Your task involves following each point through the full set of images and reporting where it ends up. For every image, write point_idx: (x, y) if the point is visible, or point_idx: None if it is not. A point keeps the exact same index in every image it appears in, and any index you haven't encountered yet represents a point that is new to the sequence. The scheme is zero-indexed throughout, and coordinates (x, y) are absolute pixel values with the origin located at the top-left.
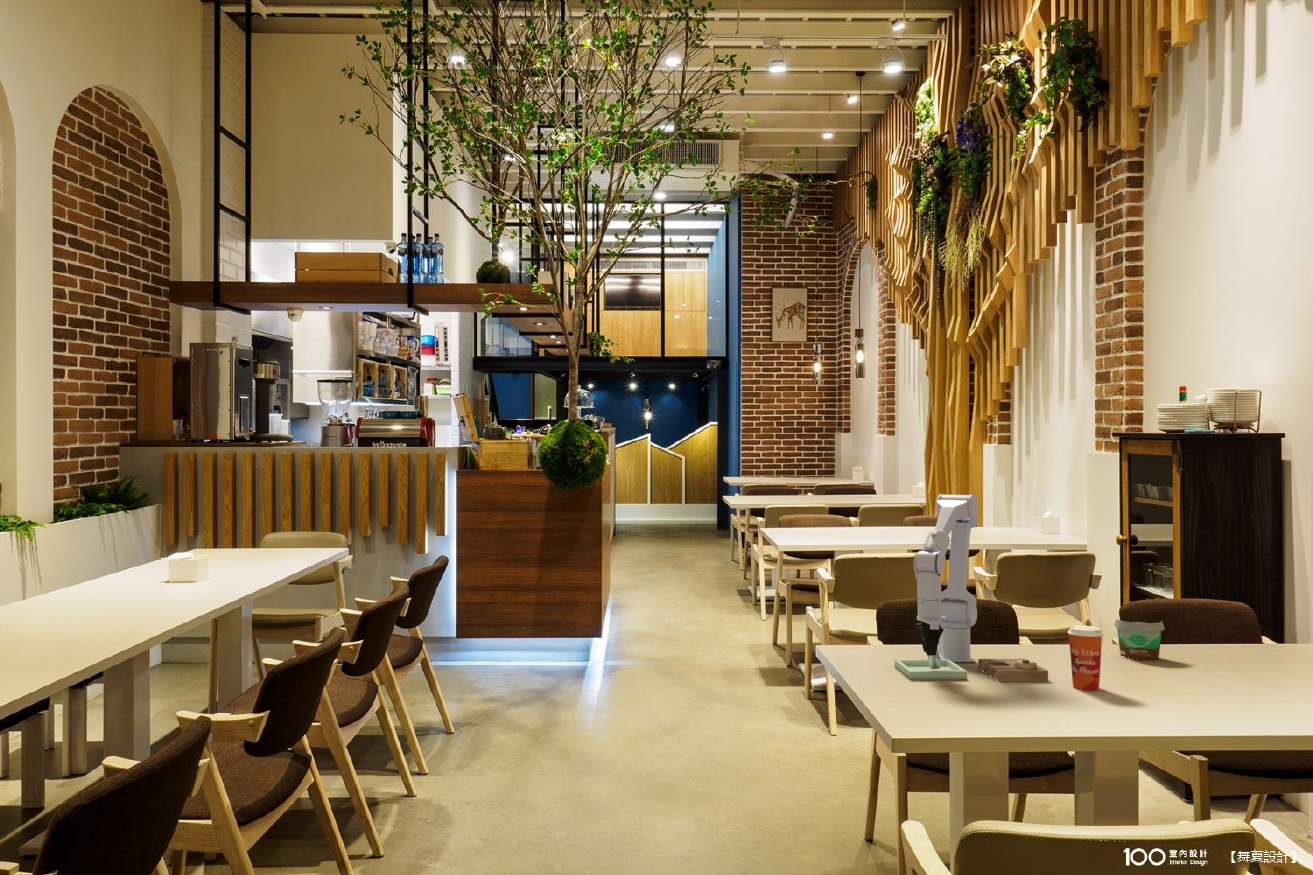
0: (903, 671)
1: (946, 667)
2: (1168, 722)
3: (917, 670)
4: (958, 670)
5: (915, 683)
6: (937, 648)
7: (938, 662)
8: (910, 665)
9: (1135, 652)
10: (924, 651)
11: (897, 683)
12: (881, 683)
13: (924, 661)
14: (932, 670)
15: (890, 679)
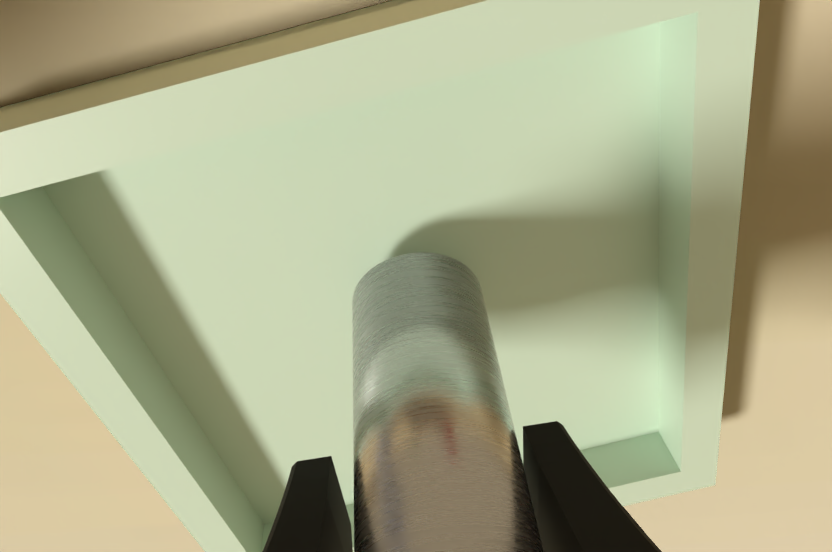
0: None
1: (148, 162)
2: None
3: None
4: (696, 60)
5: (800, 394)
6: (493, 476)
7: (483, 319)
8: (225, 467)
9: None
10: (348, 531)
11: (780, 481)
12: (766, 542)
13: (153, 405)
14: None
15: (660, 517)
